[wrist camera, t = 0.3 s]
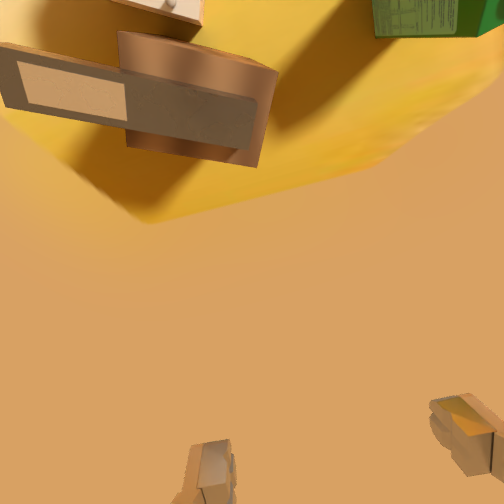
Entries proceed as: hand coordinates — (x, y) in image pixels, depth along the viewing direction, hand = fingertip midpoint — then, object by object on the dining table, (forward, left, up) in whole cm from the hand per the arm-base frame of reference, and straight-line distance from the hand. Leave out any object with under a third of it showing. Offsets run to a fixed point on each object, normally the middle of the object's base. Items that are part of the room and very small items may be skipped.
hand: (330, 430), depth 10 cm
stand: (-8, 0, -53) cm, 54 cm away
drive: (-12, -4, -28) cm, 31 cm away
